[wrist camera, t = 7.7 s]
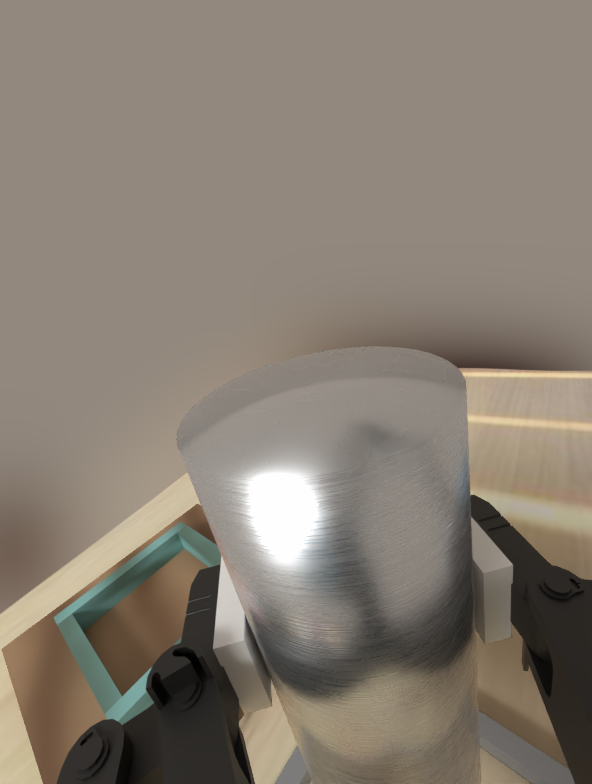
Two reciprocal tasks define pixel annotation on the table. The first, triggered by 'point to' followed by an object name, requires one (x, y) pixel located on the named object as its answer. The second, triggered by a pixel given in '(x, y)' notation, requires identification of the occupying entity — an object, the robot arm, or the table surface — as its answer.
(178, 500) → the table surface
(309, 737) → the billet
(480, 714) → the frame
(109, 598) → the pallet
